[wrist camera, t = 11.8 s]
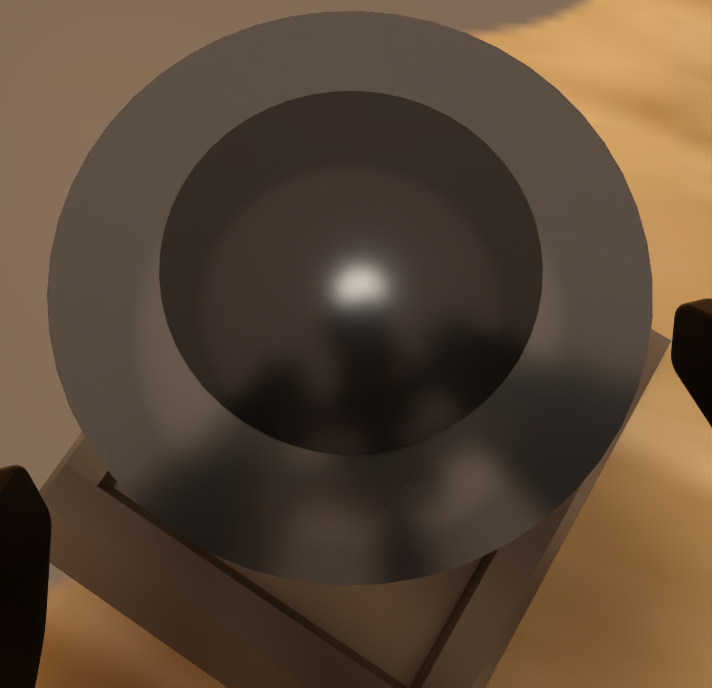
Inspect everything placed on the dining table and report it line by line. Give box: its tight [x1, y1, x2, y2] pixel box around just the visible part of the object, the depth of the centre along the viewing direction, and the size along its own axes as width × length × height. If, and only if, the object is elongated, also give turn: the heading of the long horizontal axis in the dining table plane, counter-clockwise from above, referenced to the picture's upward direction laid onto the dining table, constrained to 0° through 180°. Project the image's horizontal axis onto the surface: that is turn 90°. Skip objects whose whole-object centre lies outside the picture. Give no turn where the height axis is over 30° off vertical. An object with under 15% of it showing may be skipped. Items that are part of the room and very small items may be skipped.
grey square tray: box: [39, 329, 671, 688], centre depth 18 cm, size 14×12×2 cm
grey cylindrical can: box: [47, 11, 652, 586], centre depth 12 cm, size 5×5×13 cm
